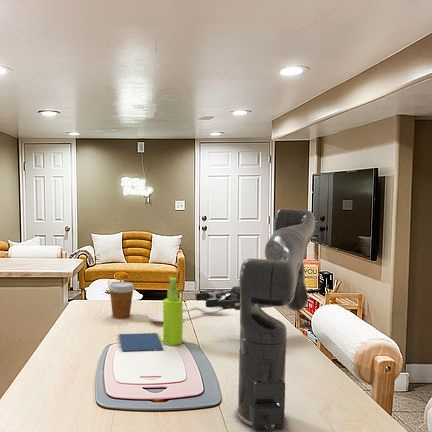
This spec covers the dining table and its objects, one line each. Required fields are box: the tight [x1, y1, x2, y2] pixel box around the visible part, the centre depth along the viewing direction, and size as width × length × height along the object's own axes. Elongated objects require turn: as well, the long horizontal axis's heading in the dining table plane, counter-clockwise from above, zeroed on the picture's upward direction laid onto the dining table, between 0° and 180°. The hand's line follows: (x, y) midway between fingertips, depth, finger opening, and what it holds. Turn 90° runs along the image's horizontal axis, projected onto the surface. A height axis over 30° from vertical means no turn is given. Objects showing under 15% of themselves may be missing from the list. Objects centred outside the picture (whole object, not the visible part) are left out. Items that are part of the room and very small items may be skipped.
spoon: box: [147, 305, 226, 324], centre depth 159 cm, size 9×32×4 cm, turn 121°
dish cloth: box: [119, 332, 164, 353], centre depth 133 cm, size 14×12×1 cm
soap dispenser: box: [162, 276, 183, 346], centre depth 134 cm, size 6×7×20 cm
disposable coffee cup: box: [108, 281, 135, 319], centre depth 160 cm, size 10×10×12 cm
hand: (201, 300), depth 136 cm, fingers open, 8 cm apart
